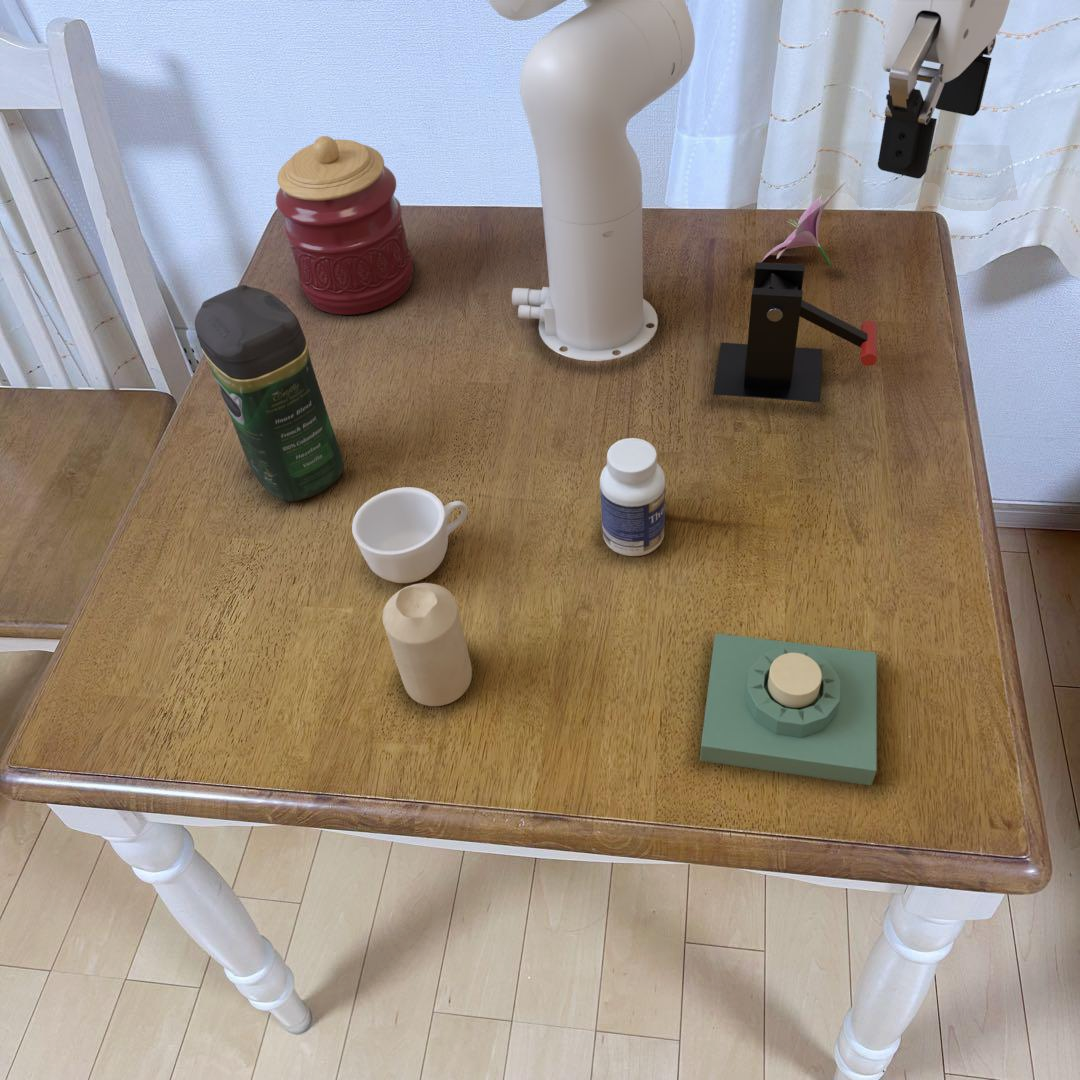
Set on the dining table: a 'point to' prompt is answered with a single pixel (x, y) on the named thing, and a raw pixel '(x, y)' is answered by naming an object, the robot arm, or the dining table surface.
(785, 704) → the button
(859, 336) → the lever
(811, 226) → the lily
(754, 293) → the bracket
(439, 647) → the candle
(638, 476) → the pill bottle
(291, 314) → the coffee jar
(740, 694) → the button box
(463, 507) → the teacup
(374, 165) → the kitchen canister
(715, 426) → the dining table surface
